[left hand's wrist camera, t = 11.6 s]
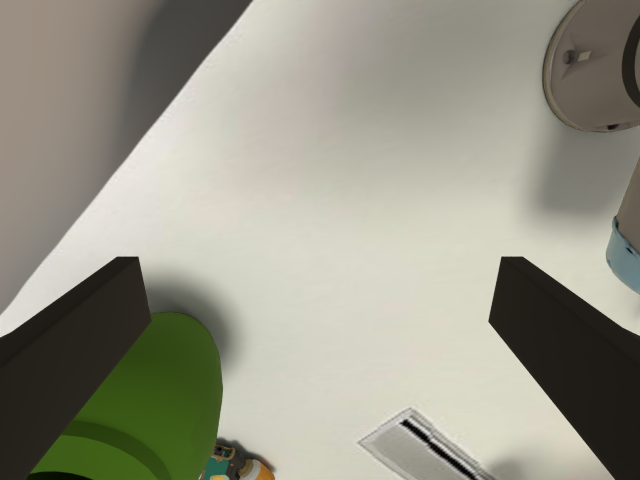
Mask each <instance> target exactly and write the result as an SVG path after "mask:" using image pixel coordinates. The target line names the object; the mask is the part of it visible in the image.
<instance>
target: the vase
mask: <svg viewBox="0 0 640 480" xmlns="http://www.w3.org/2000/svg"><path fill="white" fill-rule="evenodd" d="M150 316H151V321H152V322H151V323H150V324H149V326H148V327H147V328H146V329H145V331H144V332H143V333H142V334H141V336H140V337H139V338H138V339H137V341H136V342H135V343H134V344H133V346H132V347H131V348H130V349H129V350H128V352H127V353H126V354H125V355H124V357H123V358H122V359H121V360H120V362H119V363H118V364H117V365H116V367H115V368H114V369H113V370H112V372H111V373H110V374H109V375H108V377H107V378H106V379H105V380H104V382H103V383H102V384H101V385H100V387H99V388H98V389H97V390H96V392H95V393H94V394H93V395H92V397H91V398H90V399H89V400H88V402H87V403H86V404H85V405H84V407H83V408H82V409H81V410H80V412H79V413H78V414H77V415H76V416H75V418H74V419H73V420H72V421H71V423H70V424H69V425H68V426H67V428H66V429H65V430H64V431H63V433H62V434H61V435H60V436H59V438H58V439H57V440H56V441H55V443H54V444H53V445H52V446H51V448H50V449H49V450H48V451H47V453H46V454H45V455H44V456H43V458H42V459H41V460H40V461H39V463H38V464H37V465H36V466H35V468H34V469H33V470H32V471H31V473H30V474H29V475H28V476H27V477H26V479H25V480H198V479H199V477H200V475H201V473H202V472H203V470H204V468H205V466H206V464H207V463H208V461H209V459H210V457H211V456H212V453H213V450H214V447H215V445H216V439H217V432H218V425H219V418H220V411H221V404H222V395H223V384H222V374H221V364H220V357H219V352H218V350H217V347H216V345H215V343H214V340H213V338H212V336H211V334H210V333H209V331H208V330H207V328H206V327H205V326H204V325H203V324H202V323H200V322H199V321H197V320H196V319H194V318H192V317H190V316H188V315H185V314H182V313H176V312H162V313H154V314H150Z"/></svg>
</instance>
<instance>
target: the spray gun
mask: <svg viewBox="0 0 640 480" xmlns="http://www.w3.org/2000/svg"><path fill="white" fill-rule="evenodd" d="M215 447H216V449H215V448H214V450H213V453H212V456H211V457H210V459H209V461H208V463H207V464H206V466H205V468H204V470H203V472H202V475H201V479H200V480H239V479H240V480H275V477H274V474H273V473H272V472H271V471H269V470H268V469H267V468H266V467H265V466H264V465H263V464H262V463H261V462H259V461H257V460H255V459H254V460H251V459H246V460H244V459H243V458H242V457H241V455H240V454H239V453H238V452H237V451H235V448H233V447H232V448H228V447H224V446H220V445H217V444H216V445H215ZM224 450H225V451H224ZM228 450H229V451H231V450H233V451H231V452H230V453H229V452H228ZM237 469H239V472H237ZM238 473H239V474H238Z"/></svg>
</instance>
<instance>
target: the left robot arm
mask: <svg viewBox="0 0 640 480" xmlns="http://www.w3.org/2000/svg"><path fill="white" fill-rule="evenodd" d="M543 83H544V90H545V95H546V98H547V101H548V103H549V105H550V107H551V109H552V110H553V112H554V113H555V114H556V116H557V117H558V118H559V119H560V120H562V121H563V122H564V123H566V124H567V125H569V126H571V127H573V128H576V129H579V130H583V131H591V132H613V131H619V130H624V129H628V128H631V127H634V126H638V125H640V0H581V1H580V2H579V3H578V4H577V5H576V6H575V7H574V8H573V9H572V10H571V11H570V12H569V13H568V14H567V16H566V17H565V18H564V20H563V21H562V22H561V24H560V25H559V27H558V29H557V30H556V32H555V34H554V36H553V38H552V40H551V43H550V45H549V48H548V51H547V54H546V58H545V63H544V72H543ZM612 228H613V230H612V234H611V237H610V240H609V243H608V246H607V250H606V260H607V263H608V265H609V267H610V268H611V269H612V271H613V273H614V274H615V276H616V277H617V278H618V279H619V280H621V281H622V282H623V283H624V284H625V285H627V286H628V287H629V288H631V289H632V290H633V291H635V292H637V293H638V294H640V158H639V160H638V163H637V165H636V168H635V170H634V173H633V176H632V178H631V181H630V183H629V186H628V188H627V191H626V193H625V196H624V199H623V201H622V204H621V206H620V209H619V211H618V214H617V215H616V216H615V217H614V219H613V221H612ZM151 322H152V321H151V316H150V311H149V306H148V301H147V296H146V291H145V286H144V281H143V277H142V272H141V267H140V262H139V257H116V258H115V259H113V260H112V261H110V262H109V263H108V264H106V265H105V266H103V267H102V268H101V269H99V270H98V271H96V272H95V273H94V274H92V275H91V276H89V277H88V278H87V279H85V280H84V281H82V282H81V283H80V284H78V285H77V286H75V287H74V288H73V289H71V290H70V291H68V292H67V293H66V294H64V295H63V296H61V297H60V298H59V299H57V300H56V301H54V302H53V303H52V304H50V305H49V306H47V307H46V308H44V309H43V310H42V311H40V312H39V313H37V314H36V315H35V316H33V317H32V318H30V319H29V320H28V321H26V322H25V323H23V324H22V325H21V326H19V327H18V328H16V329H15V330H14V331H12V332H11V333H9V334H7V335H5V336H2V337H0V480H25V479H26V477H27V476H28V475H29V474H30V473H31V471H32V470H33V469H34V468H35V466H36V465H37V464H38V463H39V461H40V460H41V459H42V458H43V456H44V455H45V454H46V453H47V451H48V450H49V449H50V448H51V446H52V445H53V444H54V443H55V441H56V440H57V439H58V438H59V436H60V435H61V434H62V433H63V431H64V430H65V429H66V428H67V426H68V425H69V424H70V423H71V421H72V420H73V419H74V418H75V416H76V415H77V414H78V413H79V412H80V410H81V409H82V408H83V407H84V405H85V404H86V403H87V402H88V400H89V399H90V398H91V397H92V395H93V394H94V393H95V392H96V390H97V389H98V388H99V387H100V385H101V384H102V383H103V382H104V380H105V379H106V378H107V377H108V375H109V374H110V373H111V372H112V370H113V369H114V368H115V367H116V365H117V364H118V363H119V362H120V360H121V359H122V358H123V357H124V355H125V354H126V353H127V352H128V350H129V349H130V348H131V347H132V346H133V344H134V343H135V342H136V341H137V339H138V338H139V337H140V336H141V334H142V333H143V332H144V331H145V329H146V328H147V327H148V326H149V324H150V323H151ZM488 322H489V323H490V324H491V326H492V327H493V328H494V329H495V331H496V332H497V333H498V334H499V336H500V337H501V338H502V339H503V341H504V342H505V343H506V344H507V346H508V347H509V348H510V349H511V350H512V352H513V353H514V354H515V355H516V357H517V358H518V359H519V360H520V362H521V363H522V364H523V365H524V367H525V368H526V369H527V370H528V372H529V373H530V374H531V375H532V377H533V378H534V379H535V380H536V382H537V383H538V384H539V385H540V387H541V388H542V389H543V390H544V392H545V393H546V394H547V395H548V397H549V398H550V399H551V400H552V402H553V403H554V404H555V405H556V407H557V408H558V409H559V410H560V412H561V413H562V414H563V415H564V416H565V418H566V419H567V420H568V421H569V423H570V424H571V425H572V426H573V428H574V429H575V430H576V431H577V433H578V434H579V435H580V436H581V438H582V439H583V440H584V441H585V443H586V444H587V445H588V446H589V448H590V449H591V450H592V451H593V453H594V454H595V455H596V456H597V458H598V459H599V460H600V461H601V463H602V464H603V465H604V466H605V468H606V469H607V470H608V471H609V473H610V474H611V475H612V476H613V477H614V479H615V480H640V336H639V335H637V334H634V333H632V332H630V331H628V330H626V329H624V328H622V327H621V326H619V325H618V324H617V323H615V322H614V321H612V320H611V319H610V318H608V317H607V316H605V315H604V314H603V313H601V312H600V311H598V310H597V309H595V308H594V307H593V306H591V305H590V304H588V303H587V302H586V301H584V300H583V299H581V298H580V297H579V296H577V295H576V294H574V293H573V292H572V291H570V290H569V289H567V288H566V287H565V286H563V285H562V284H560V283H559V282H558V281H556V280H555V279H553V278H552V277H551V276H549V275H548V274H546V273H545V272H544V271H542V270H541V269H539V268H538V267H537V266H535V265H534V264H532V263H531V262H530V261H528V260H527V259H525V258H524V257H501V262H500V267H499V272H498V277H497V281H496V286H495V291H494V296H493V301H492V306H491V311H490V316H489V321H488Z"/></svg>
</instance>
